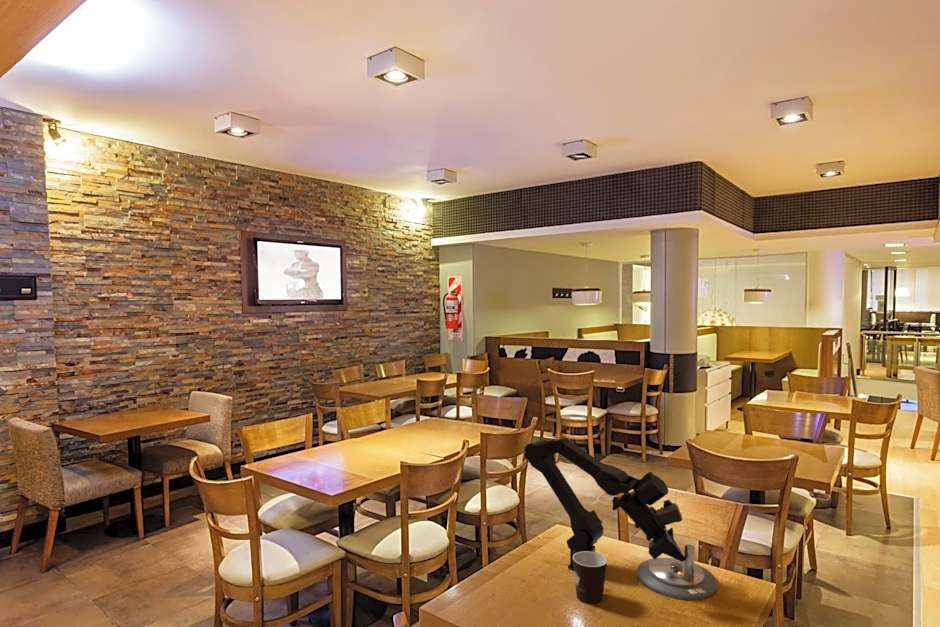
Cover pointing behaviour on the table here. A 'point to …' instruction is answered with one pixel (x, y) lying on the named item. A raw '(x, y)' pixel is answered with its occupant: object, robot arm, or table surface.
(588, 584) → the coffee mug
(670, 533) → the robot arm
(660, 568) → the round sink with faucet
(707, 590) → the dial base
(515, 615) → the table surface
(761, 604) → the table surface
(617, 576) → the table surface
